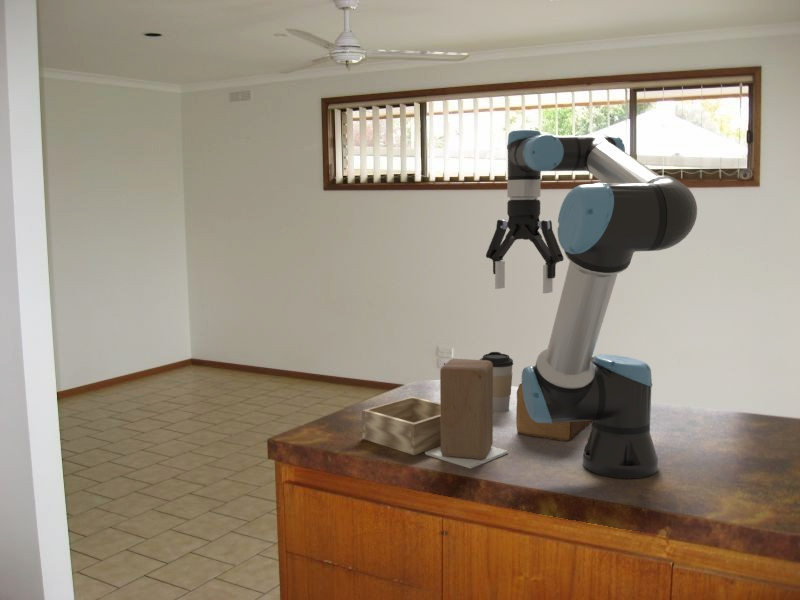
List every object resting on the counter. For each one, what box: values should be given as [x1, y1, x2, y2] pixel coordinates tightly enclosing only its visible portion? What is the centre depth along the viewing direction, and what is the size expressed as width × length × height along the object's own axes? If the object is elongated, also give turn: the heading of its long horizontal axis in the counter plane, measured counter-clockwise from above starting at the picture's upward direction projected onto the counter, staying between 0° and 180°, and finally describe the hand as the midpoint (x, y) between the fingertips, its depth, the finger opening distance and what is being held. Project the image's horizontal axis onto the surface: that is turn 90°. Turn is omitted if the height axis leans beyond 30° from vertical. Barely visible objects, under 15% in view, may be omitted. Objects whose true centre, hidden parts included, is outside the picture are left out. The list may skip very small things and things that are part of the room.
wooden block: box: [439, 358, 494, 459], centre depth 167 cm, size 10×10×20 cm
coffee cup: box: [479, 351, 514, 413], centre depth 203 cm, size 9×9×15 cm
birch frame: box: [361, 395, 441, 456], centre depth 180 cm, size 17×17×7 cm
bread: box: [515, 356, 594, 442], centre depth 192 cm, size 14×34×14 cm, turn 149°
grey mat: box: [424, 445, 509, 469], centre depth 168 cm, size 13×13×1 cm
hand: (523, 290), depth 177 cm, fingers open, 13 cm apart
